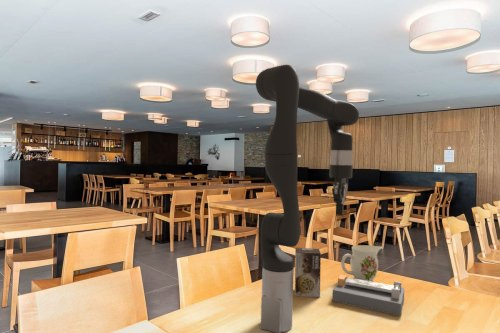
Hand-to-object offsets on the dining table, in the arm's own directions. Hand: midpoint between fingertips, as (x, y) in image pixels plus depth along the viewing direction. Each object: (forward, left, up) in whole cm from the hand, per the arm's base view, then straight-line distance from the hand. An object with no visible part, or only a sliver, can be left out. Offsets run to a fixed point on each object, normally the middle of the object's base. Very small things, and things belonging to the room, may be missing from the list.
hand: (339, 214), depth 116 cm
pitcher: (+30, -3, -31) cm, 43 cm away
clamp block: (+10, -9, -31) cm, 34 cm away
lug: (+10, 0, -27) cm, 29 cm away
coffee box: (+4, +12, -31) cm, 34 cm away
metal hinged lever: (+10, -10, -26) cm, 30 cm away
